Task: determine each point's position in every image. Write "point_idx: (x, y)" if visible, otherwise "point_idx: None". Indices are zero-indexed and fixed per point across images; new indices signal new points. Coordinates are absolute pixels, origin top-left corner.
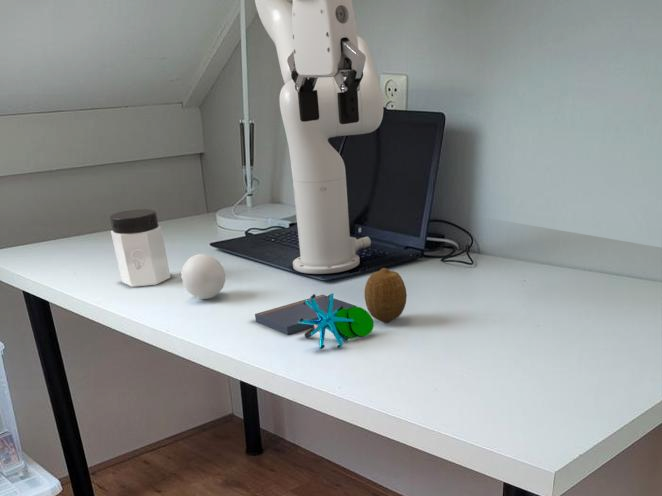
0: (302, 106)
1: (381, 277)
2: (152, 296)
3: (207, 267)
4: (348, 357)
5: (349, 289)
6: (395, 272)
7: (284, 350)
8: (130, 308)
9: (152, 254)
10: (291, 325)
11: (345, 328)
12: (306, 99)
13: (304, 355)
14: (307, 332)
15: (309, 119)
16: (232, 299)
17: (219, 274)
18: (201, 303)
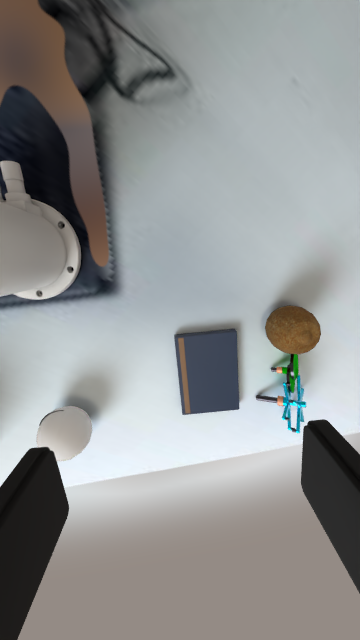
0: (42, 576)
1: (312, 347)
2: None
3: (80, 443)
4: (320, 392)
5: (154, 288)
6: (311, 325)
7: (266, 421)
8: None
9: None
10: (238, 404)
11: (293, 380)
12: (16, 597)
13: None
14: (262, 400)
15: (62, 490)
16: (97, 399)
17: (84, 425)
18: None
